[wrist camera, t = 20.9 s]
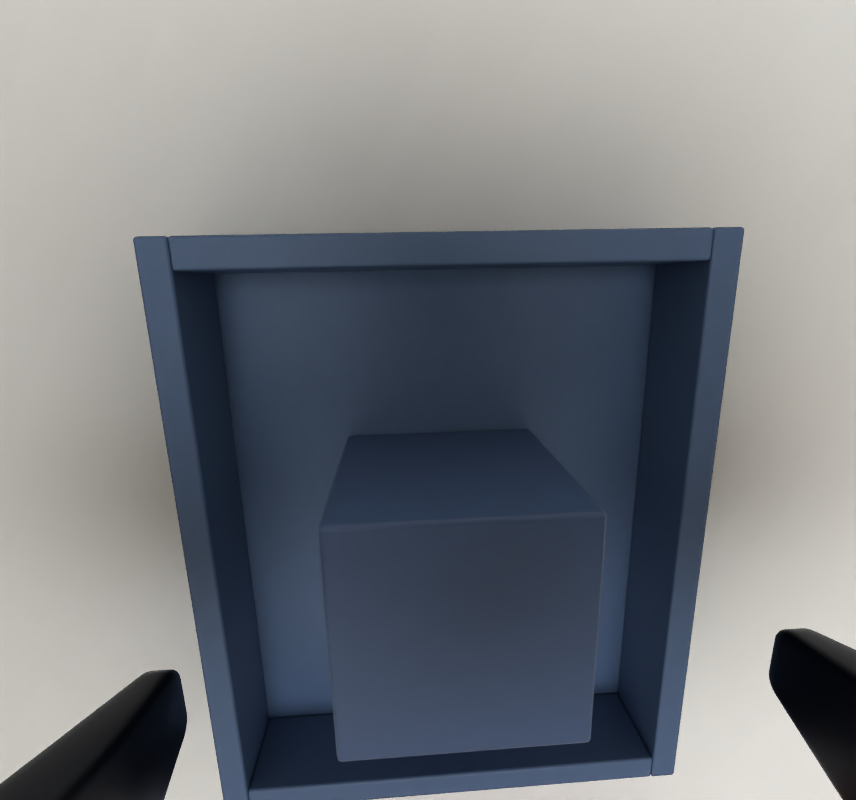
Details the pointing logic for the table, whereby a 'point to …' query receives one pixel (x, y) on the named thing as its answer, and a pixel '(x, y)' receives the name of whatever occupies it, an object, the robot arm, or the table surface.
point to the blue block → (459, 595)
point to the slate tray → (434, 413)
